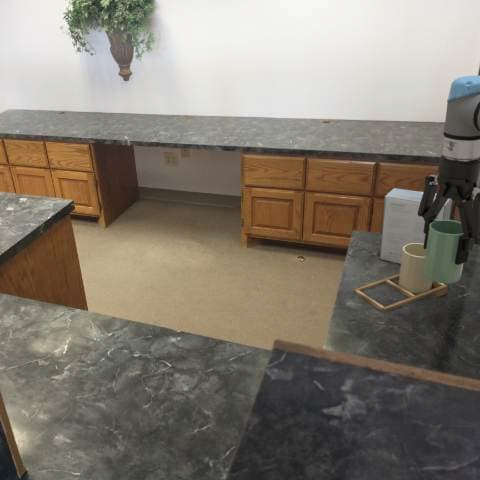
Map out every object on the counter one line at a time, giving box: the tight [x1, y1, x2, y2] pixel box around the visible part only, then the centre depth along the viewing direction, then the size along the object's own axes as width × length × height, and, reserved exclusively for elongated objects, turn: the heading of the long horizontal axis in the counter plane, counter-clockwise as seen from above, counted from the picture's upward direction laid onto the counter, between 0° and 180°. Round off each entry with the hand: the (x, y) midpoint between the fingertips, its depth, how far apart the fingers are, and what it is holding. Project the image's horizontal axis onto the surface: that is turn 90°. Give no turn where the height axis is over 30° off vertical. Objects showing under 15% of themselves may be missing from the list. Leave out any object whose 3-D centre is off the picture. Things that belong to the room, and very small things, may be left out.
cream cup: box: [398, 243, 432, 295], centre depth 130 cm, size 8×8×12 cm
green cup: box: [423, 219, 464, 284], centre depth 113 cm, size 8×8×12 cm
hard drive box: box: [379, 187, 453, 265], centre depth 142 cm, size 16×8×20 cm, turn 49°
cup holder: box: [353, 273, 449, 314], centre depth 131 cm, size 11×20×2 cm, turn 112°
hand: (444, 254), depth 113 cm, fingers closed on green cup, 8 cm apart
